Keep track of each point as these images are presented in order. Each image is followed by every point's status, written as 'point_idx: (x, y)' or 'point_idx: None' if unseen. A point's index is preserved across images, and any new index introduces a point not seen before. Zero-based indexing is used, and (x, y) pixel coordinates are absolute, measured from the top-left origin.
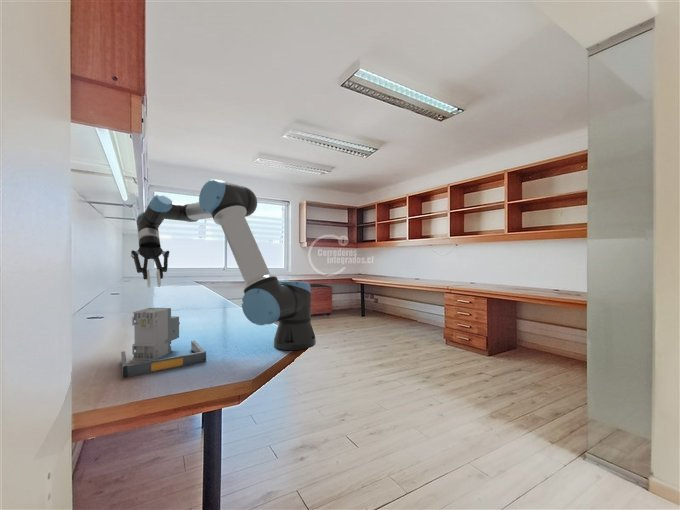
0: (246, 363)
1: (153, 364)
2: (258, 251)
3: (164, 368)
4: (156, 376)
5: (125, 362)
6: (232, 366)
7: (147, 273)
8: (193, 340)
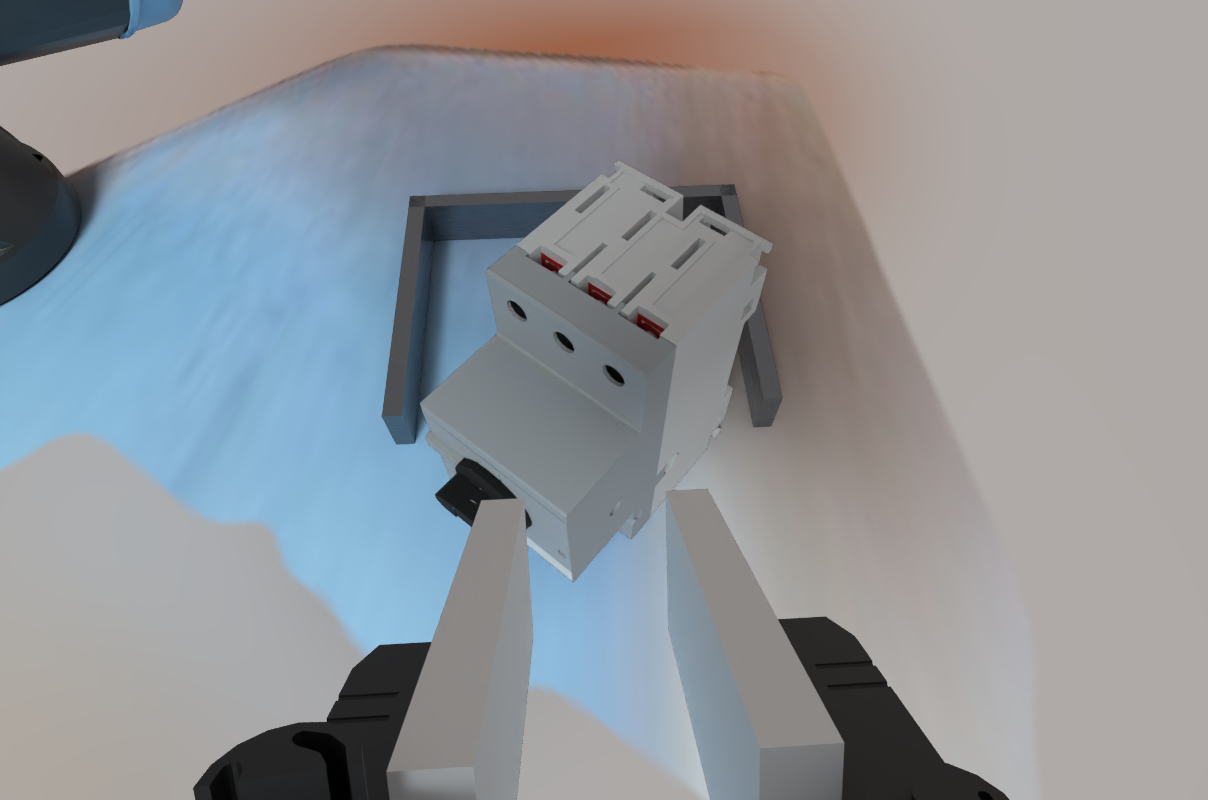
0: (303, 148)
1: None
2: None
3: None
4: None
5: None
6: (360, 146)
7: (774, 619)
8: (387, 416)
